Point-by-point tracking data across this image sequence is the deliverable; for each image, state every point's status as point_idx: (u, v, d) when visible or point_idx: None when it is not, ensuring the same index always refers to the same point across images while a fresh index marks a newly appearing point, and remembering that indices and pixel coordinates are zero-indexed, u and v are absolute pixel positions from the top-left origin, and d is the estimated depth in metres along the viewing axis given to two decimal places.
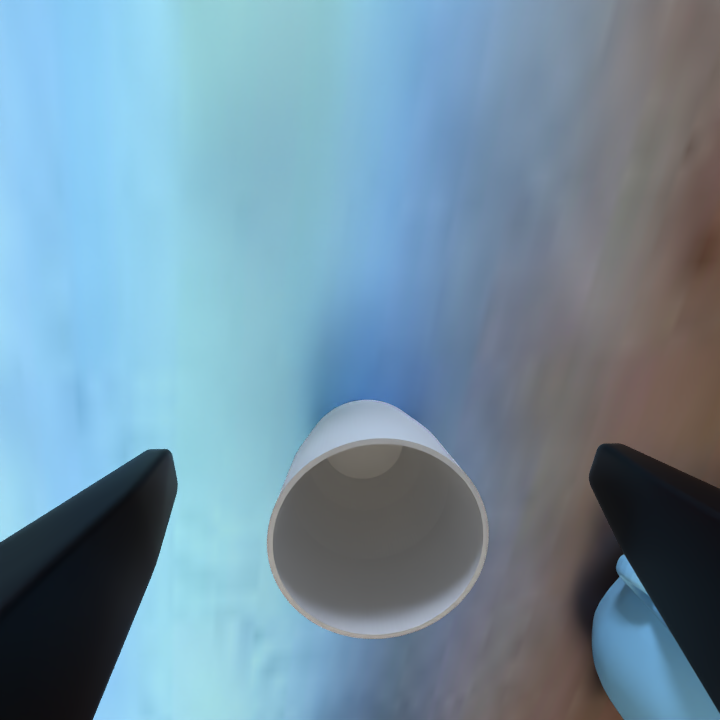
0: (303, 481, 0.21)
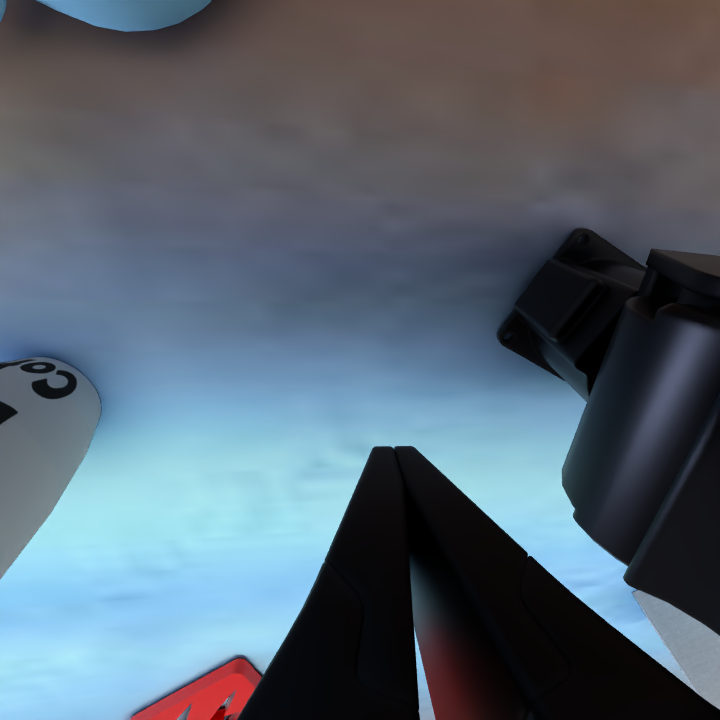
0: None
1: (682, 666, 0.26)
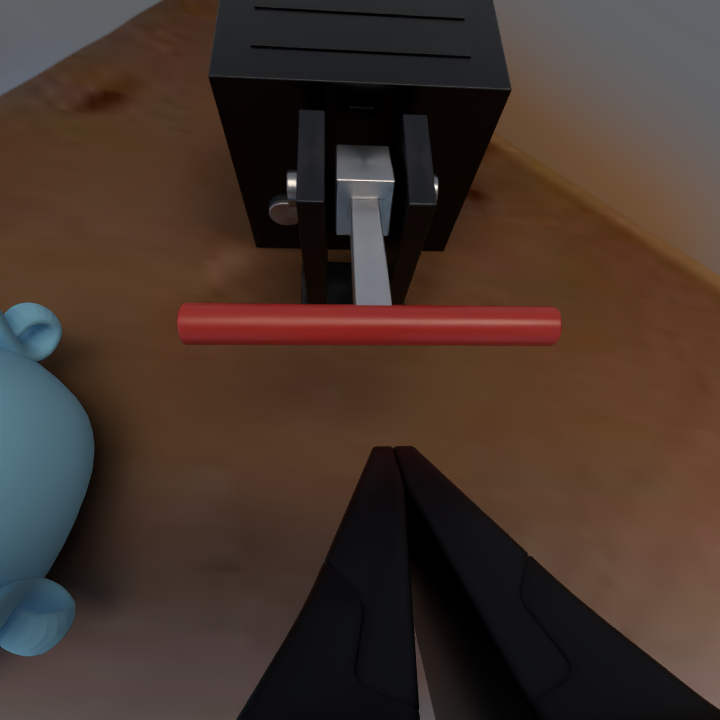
0: None
1: None
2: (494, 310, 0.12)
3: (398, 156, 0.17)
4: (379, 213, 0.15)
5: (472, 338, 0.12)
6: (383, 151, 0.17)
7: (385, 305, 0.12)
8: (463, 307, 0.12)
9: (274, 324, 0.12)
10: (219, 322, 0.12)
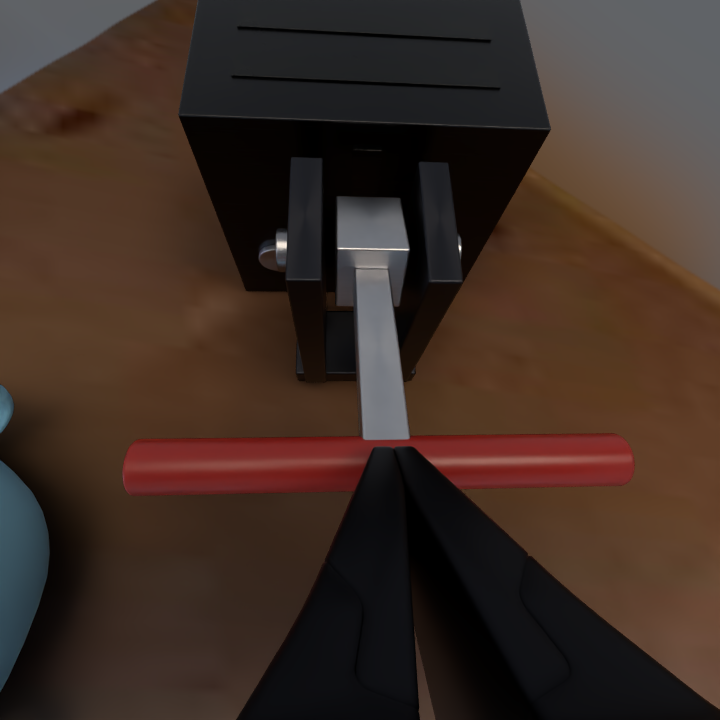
0: None
1: None
2: (545, 447, 0.09)
3: (412, 209, 0.14)
4: (390, 290, 0.12)
5: (517, 484, 0.09)
6: (394, 205, 0.14)
7: (401, 439, 0.09)
8: (504, 442, 0.09)
9: (254, 474, 0.09)
10: (179, 473, 0.09)
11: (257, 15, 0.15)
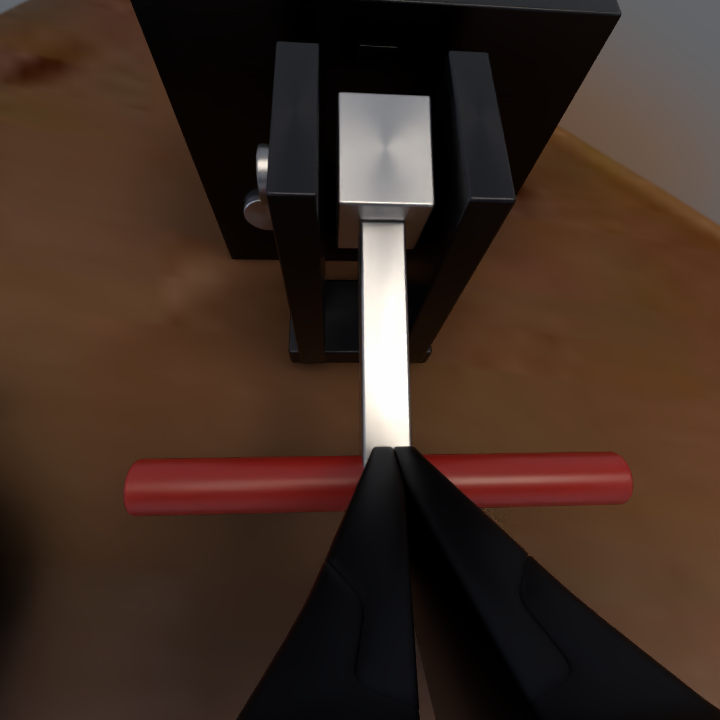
0: None
1: None
2: (547, 480, 0.09)
3: (437, 123, 0.11)
4: (404, 260, 0.10)
5: None
6: (421, 113, 0.10)
7: None
8: (507, 474, 0.09)
9: (255, 505, 0.09)
10: (181, 505, 0.09)
11: None
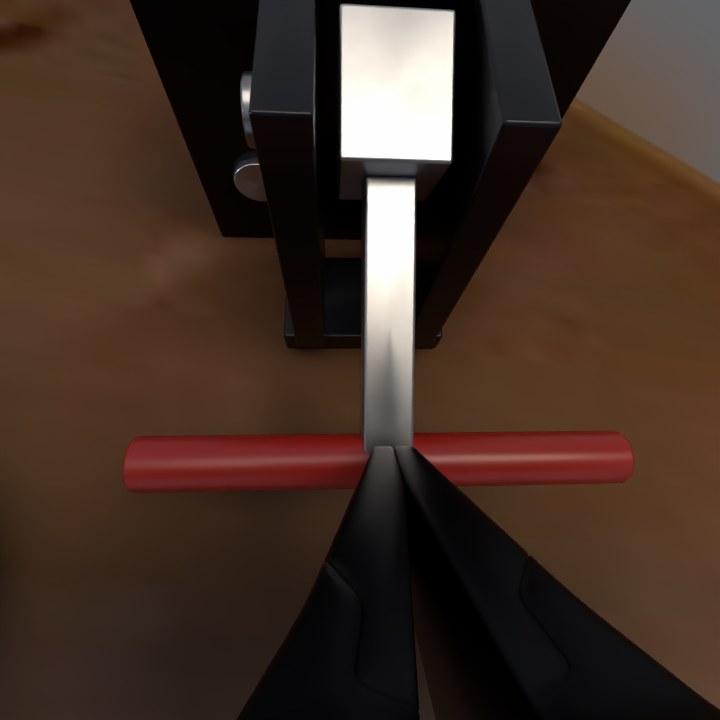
0: None
1: None
2: (549, 463, 0.09)
3: (456, 54, 0.09)
4: (414, 224, 0.09)
5: None
6: (442, 35, 0.08)
7: None
8: (509, 457, 0.09)
9: (255, 485, 0.09)
10: (182, 485, 0.09)
11: None
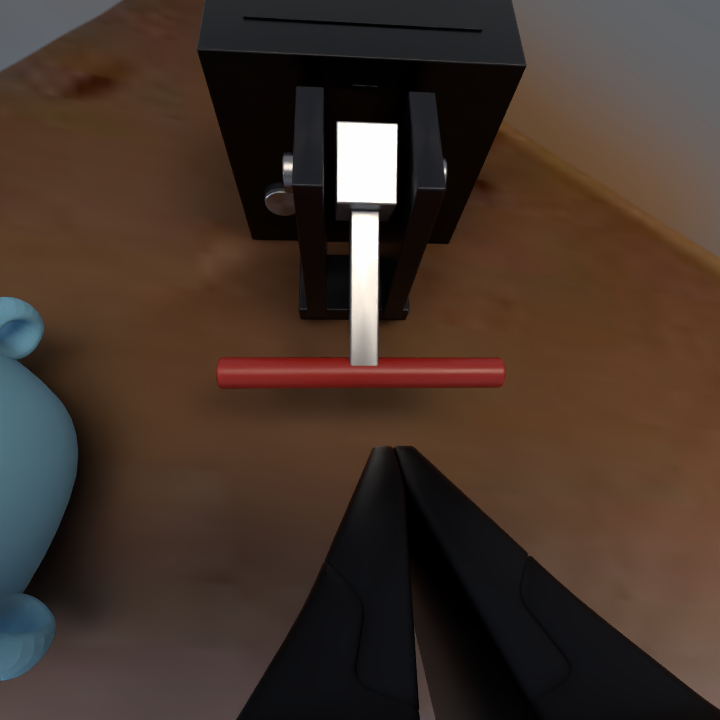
0: None
1: None
2: (455, 372, 0.16)
3: (403, 138, 0.16)
4: (378, 237, 0.15)
5: (435, 387, 0.16)
6: (390, 137, 0.15)
7: (372, 365, 0.16)
8: (432, 369, 0.16)
9: (289, 383, 0.16)
10: (248, 383, 0.16)
11: None
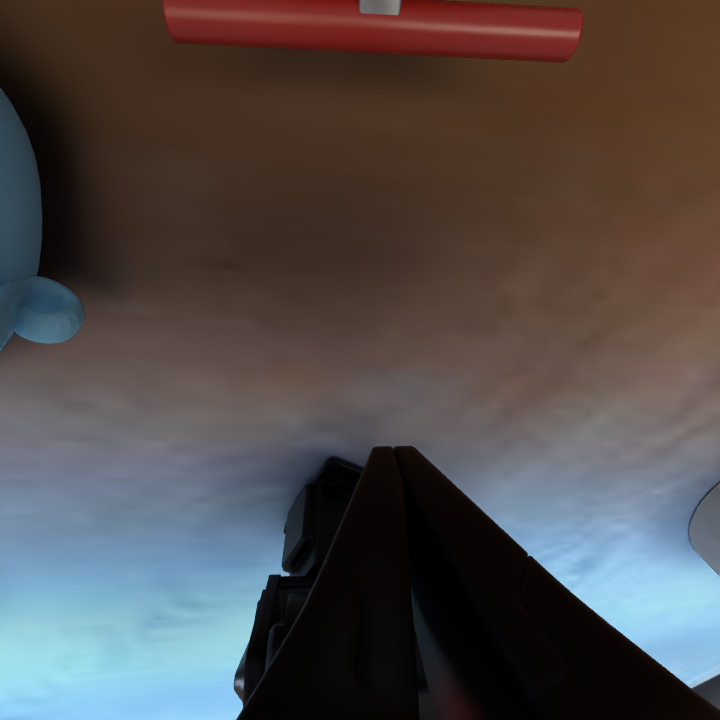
0: None
1: None
2: (509, 35, 0.11)
3: None
4: None
5: None
6: None
7: (392, 15, 0.11)
8: (478, 26, 0.11)
9: (271, 41, 0.11)
10: (214, 36, 0.11)
11: None
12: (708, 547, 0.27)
